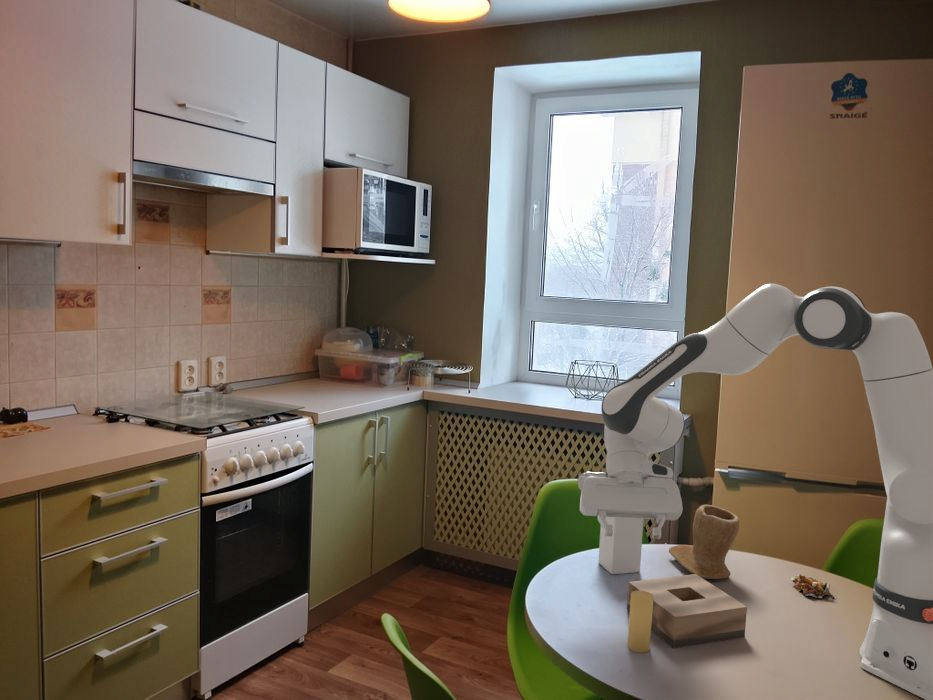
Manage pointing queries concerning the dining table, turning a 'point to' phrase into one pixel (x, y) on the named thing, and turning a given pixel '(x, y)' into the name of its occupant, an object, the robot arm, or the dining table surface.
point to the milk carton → (621, 545)
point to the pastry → (811, 586)
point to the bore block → (691, 610)
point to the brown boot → (708, 543)
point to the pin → (640, 621)
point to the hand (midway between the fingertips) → (632, 536)
